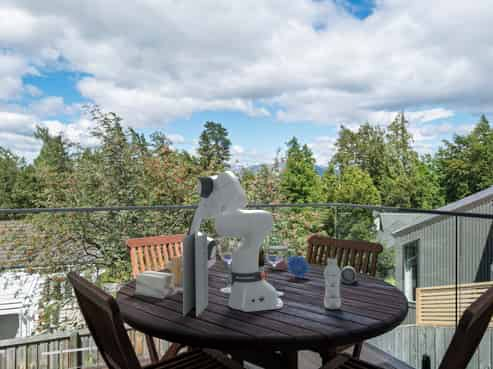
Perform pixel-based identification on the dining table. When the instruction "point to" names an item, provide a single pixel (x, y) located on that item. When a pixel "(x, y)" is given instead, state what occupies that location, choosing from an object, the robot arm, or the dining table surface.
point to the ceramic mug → (348, 274)
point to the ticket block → (156, 284)
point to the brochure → (195, 273)
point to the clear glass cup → (284, 263)
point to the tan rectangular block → (176, 269)
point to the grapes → (298, 266)
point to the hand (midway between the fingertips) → (175, 269)
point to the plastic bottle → (332, 284)
